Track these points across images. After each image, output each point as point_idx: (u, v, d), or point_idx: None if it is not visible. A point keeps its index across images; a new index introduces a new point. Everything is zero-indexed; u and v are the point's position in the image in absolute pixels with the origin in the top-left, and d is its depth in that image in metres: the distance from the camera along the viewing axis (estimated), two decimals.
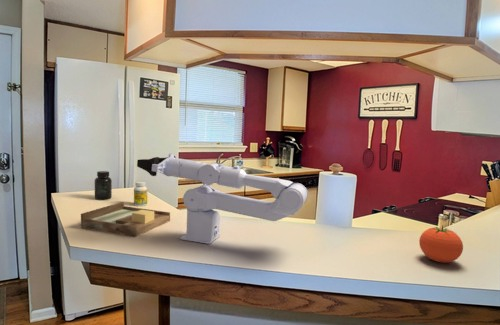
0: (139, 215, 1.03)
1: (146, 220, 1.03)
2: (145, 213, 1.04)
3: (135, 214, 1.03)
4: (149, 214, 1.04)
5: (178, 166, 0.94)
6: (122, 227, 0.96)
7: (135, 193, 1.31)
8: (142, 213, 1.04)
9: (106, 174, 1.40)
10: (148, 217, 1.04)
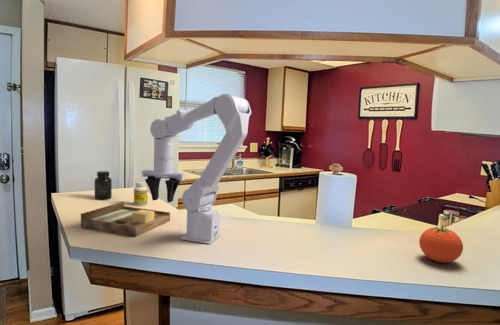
0: (139, 215, 1.03)
1: (146, 220, 1.03)
2: (145, 213, 1.04)
3: (135, 214, 1.03)
4: (149, 214, 1.04)
5: None
6: (122, 227, 0.96)
7: (135, 193, 1.31)
8: (142, 213, 1.04)
9: (106, 174, 1.40)
10: (148, 217, 1.04)
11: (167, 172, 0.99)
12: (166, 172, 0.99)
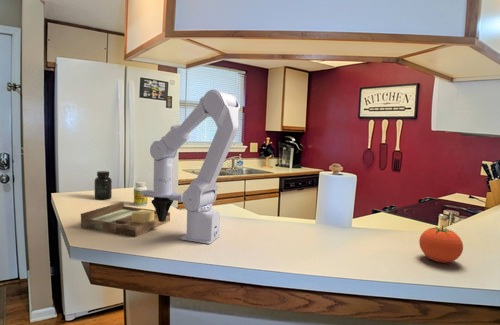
0: (139, 215, 1.03)
1: (146, 220, 1.03)
2: (145, 213, 1.04)
3: (135, 214, 1.03)
4: (149, 214, 1.04)
5: None
6: (122, 227, 0.96)
7: (135, 193, 1.31)
8: (142, 213, 1.04)
9: (106, 174, 1.40)
10: (148, 217, 1.04)
11: (167, 193, 1.00)
12: (166, 193, 1.00)
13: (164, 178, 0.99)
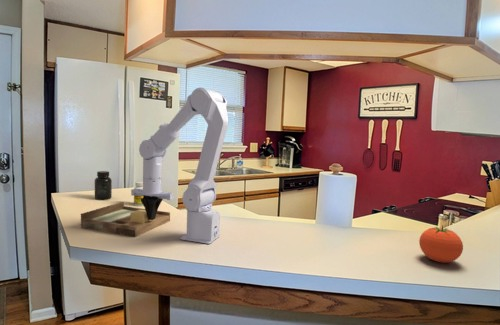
0: (138, 215, 1.03)
1: (145, 220, 1.03)
2: (144, 213, 1.04)
3: (134, 214, 1.03)
4: None
5: None
6: (122, 227, 0.96)
7: None
8: (141, 213, 1.04)
9: (106, 174, 1.40)
10: None
11: (156, 192, 1.01)
12: (155, 192, 1.01)
13: (153, 177, 1.00)
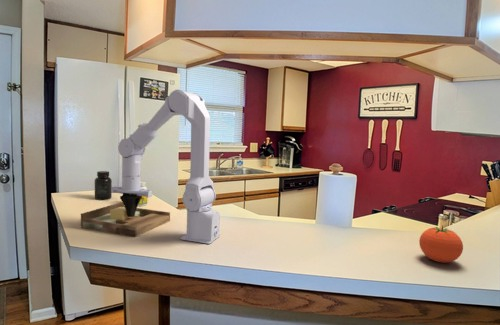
0: (117, 212, 1.05)
1: (124, 217, 1.05)
2: (123, 210, 1.06)
3: (113, 211, 1.06)
4: None
5: None
6: (122, 227, 0.96)
7: None
8: (120, 210, 1.06)
9: (106, 174, 1.40)
10: (126, 214, 1.07)
11: (134, 189, 1.04)
12: (133, 189, 1.04)
13: (132, 175, 1.03)
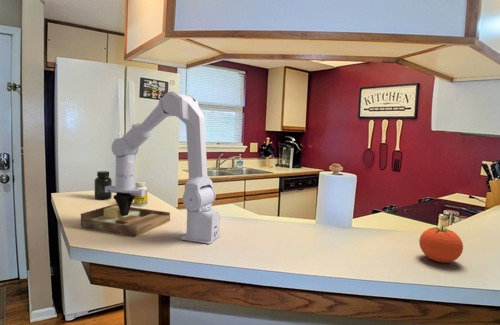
0: (111, 211, 1.06)
1: (117, 216, 1.06)
2: (117, 209, 1.07)
3: (107, 210, 1.06)
4: None
5: None
6: (122, 227, 0.96)
7: None
8: (114, 209, 1.07)
9: (106, 174, 1.40)
10: (120, 213, 1.07)
11: (128, 188, 1.04)
12: (127, 188, 1.04)
13: (126, 174, 1.04)
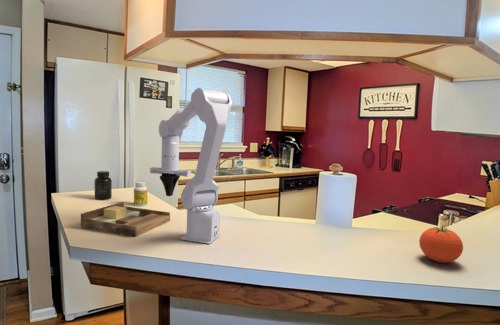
0: (111, 211, 1.06)
1: (117, 216, 1.06)
2: (117, 209, 1.07)
3: (107, 210, 1.06)
4: (121, 210, 1.08)
5: None
6: (122, 227, 0.96)
7: (135, 193, 1.31)
8: (114, 209, 1.07)
9: (106, 174, 1.40)
10: (120, 213, 1.07)
11: (174, 169, 1.08)
12: (173, 169, 1.08)
13: (168, 155, 1.07)
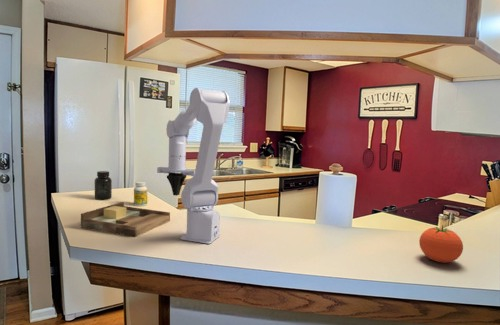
0: (111, 211, 1.06)
1: (117, 216, 1.06)
2: (117, 209, 1.07)
3: (107, 210, 1.06)
4: (121, 210, 1.08)
5: None
6: (122, 227, 0.96)
7: (135, 193, 1.31)
8: (114, 209, 1.07)
9: (106, 174, 1.40)
10: (120, 213, 1.07)
11: (181, 168, 1.09)
12: (180, 168, 1.09)
13: (174, 154, 1.08)
